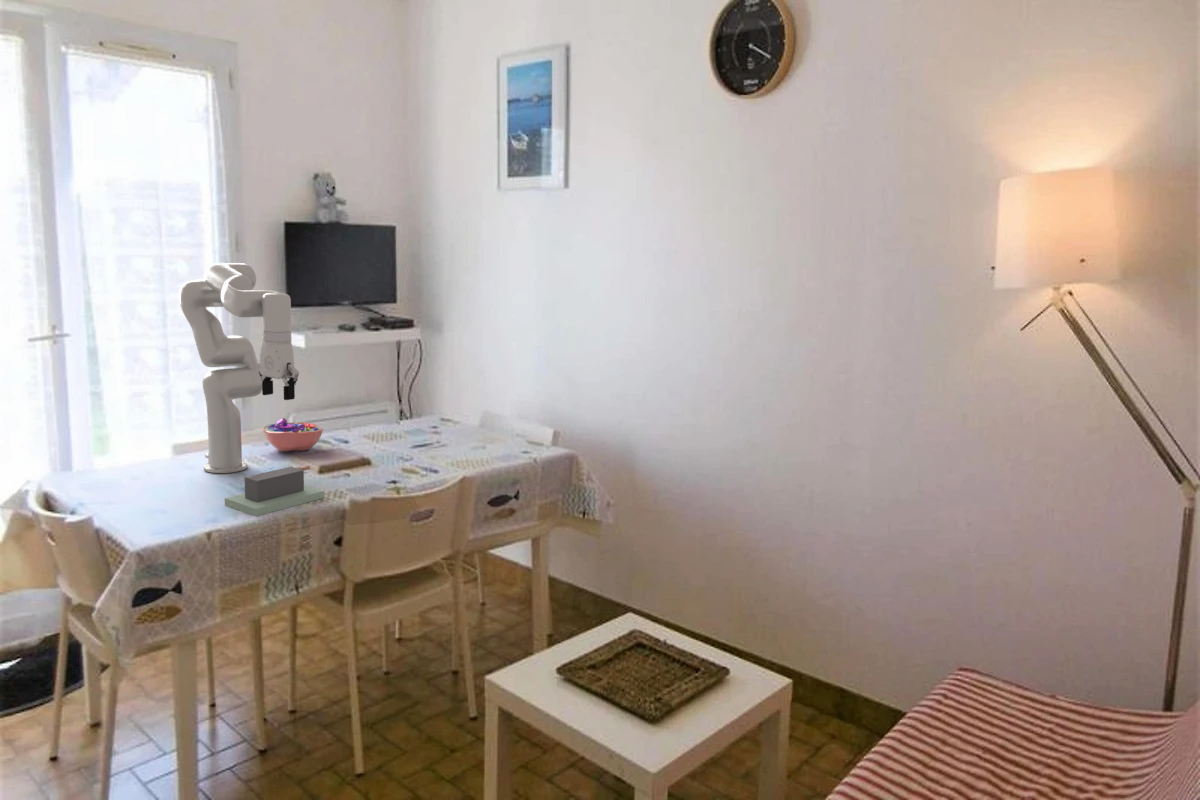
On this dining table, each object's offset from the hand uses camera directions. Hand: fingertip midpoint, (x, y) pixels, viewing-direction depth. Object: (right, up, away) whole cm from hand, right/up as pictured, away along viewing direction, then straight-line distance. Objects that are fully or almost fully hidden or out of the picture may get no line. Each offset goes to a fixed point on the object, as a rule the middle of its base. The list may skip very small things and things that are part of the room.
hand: (278, 397), depth 242 cm
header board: (0, -29, -3) cm, 30 cm away
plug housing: (+1, -27, -2) cm, 27 cm away
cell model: (-14, -19, +52) cm, 57 cm away
